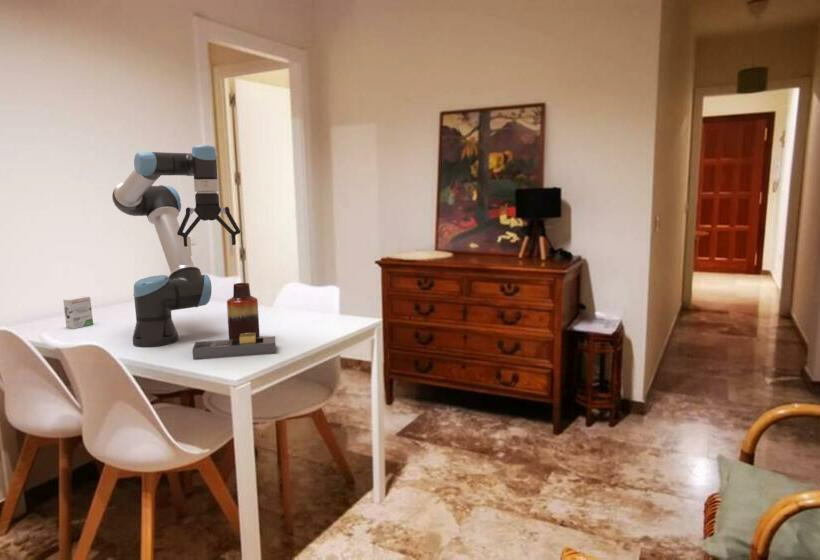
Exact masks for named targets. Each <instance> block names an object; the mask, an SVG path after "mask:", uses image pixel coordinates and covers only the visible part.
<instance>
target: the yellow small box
mask: <svg viewBox="0 0 820 560" xmlns="http://www.w3.org/2000/svg"><path fill="white" fill-rule="evenodd" d="M239 338H240V344H254V343H256V333H251V332H245V333H240V337H239Z"/></svg>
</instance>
